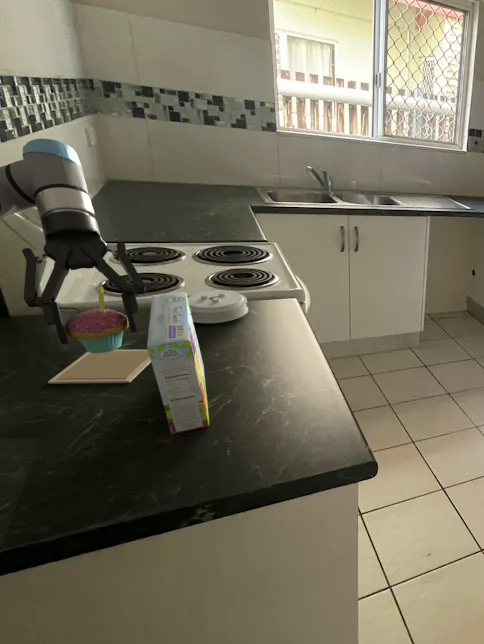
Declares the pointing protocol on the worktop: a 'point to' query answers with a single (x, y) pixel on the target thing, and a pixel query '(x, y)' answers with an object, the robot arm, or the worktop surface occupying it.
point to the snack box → (177, 362)
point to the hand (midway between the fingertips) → (99, 334)
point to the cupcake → (98, 327)
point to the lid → (217, 306)
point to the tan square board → (105, 367)
